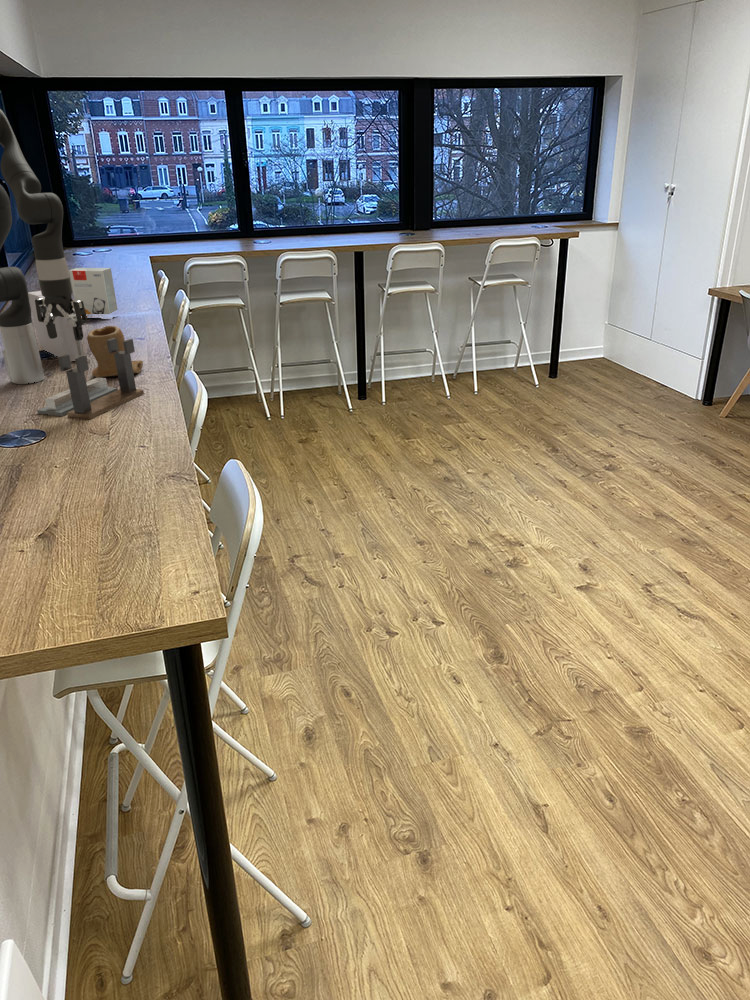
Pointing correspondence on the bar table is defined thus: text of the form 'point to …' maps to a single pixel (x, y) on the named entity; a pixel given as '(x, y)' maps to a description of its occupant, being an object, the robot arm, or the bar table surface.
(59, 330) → the game console
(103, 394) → the rubber mat
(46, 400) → the steel rail
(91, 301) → the hard drive box
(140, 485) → the bar table surface
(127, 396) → the cradle stand
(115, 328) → the clay boot vase
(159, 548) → the bar table surface
